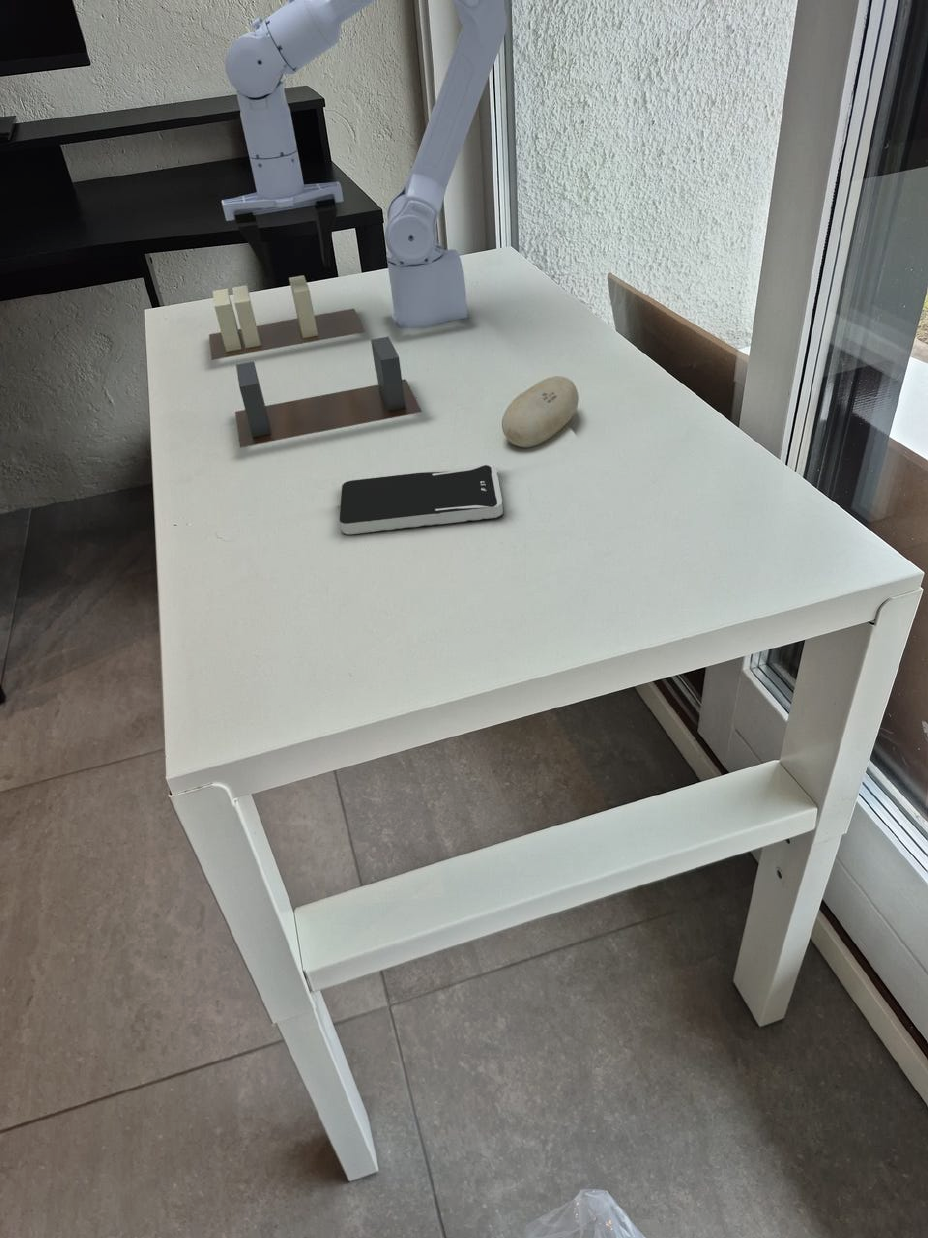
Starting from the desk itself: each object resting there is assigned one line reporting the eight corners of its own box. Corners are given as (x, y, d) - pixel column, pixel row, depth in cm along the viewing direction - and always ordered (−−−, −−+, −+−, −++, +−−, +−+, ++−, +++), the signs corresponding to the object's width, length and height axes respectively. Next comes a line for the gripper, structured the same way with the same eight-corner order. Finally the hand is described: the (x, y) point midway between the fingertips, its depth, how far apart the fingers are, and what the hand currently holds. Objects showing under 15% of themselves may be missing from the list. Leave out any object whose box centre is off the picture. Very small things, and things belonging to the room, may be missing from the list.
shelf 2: (406, 386, 106) (405, 378, 105) (423, 419, 99) (422, 411, 99) (236, 419, 103) (234, 411, 103) (241, 455, 96) (239, 447, 96)
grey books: (395, 386, 104) (388, 335, 100) (406, 408, 100) (399, 356, 96) (248, 414, 102) (235, 364, 98) (252, 438, 97) (239, 386, 93)
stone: (594, 385, 96) (562, 404, 86) (571, 438, 99) (537, 463, 89) (546, 362, 97) (509, 378, 87) (525, 415, 100) (486, 437, 90)
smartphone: (342, 481, 88) (495, 463, 88) (345, 493, 89) (496, 475, 89) (339, 524, 82) (502, 505, 82) (341, 536, 83) (503, 518, 83)
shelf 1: (355, 315, 125) (354, 308, 125) (366, 338, 118) (365, 331, 118) (210, 341, 122) (208, 334, 122) (213, 366, 115) (211, 359, 115)
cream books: (257, 329, 121) (247, 284, 118) (261, 345, 117) (250, 299, 113) (224, 335, 121) (212, 290, 117) (226, 352, 116) (214, 306, 112)
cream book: (312, 319, 123) (303, 274, 119) (318, 335, 118) (309, 289, 114) (298, 322, 122) (288, 277, 118) (303, 338, 118) (293, 292, 114)
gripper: (213, 170, 103) (242, 289, 112) (338, 150, 105) (357, 268, 114) (210, 157, 108) (238, 271, 117) (329, 138, 110) (348, 252, 119)
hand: (297, 269), depth 116 cm, fingers open, 7 cm apart
